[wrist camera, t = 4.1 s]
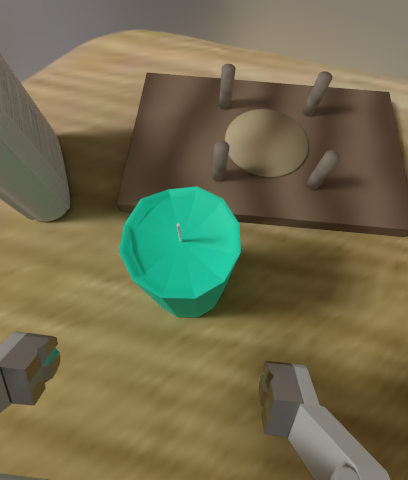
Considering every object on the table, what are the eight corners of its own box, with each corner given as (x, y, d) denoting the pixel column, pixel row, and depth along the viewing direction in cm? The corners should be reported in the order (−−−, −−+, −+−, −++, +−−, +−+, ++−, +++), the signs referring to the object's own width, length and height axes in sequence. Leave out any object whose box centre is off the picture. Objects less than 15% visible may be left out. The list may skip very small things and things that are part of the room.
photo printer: (17, 141, 28) (-111, -1, 16) (60, 131, 28) (-36, -14, 17) (29, 229, 25) (-122, 128, 13) (77, 215, 25) (-27, 107, 14)
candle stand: (380, 103, 30) (417, 55, 25) (404, 236, 25) (457, 209, 20) (149, 84, 31) (139, 33, 26) (121, 211, 25) (101, 177, 20)
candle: (231, 258, 24) (259, 183, 13) (214, 327, 22) (229, 312, 11) (166, 241, 24) (137, 154, 13) (143, 307, 22) (85, 271, 11)
